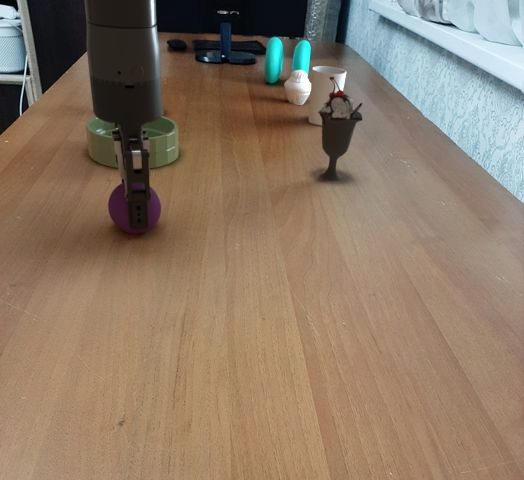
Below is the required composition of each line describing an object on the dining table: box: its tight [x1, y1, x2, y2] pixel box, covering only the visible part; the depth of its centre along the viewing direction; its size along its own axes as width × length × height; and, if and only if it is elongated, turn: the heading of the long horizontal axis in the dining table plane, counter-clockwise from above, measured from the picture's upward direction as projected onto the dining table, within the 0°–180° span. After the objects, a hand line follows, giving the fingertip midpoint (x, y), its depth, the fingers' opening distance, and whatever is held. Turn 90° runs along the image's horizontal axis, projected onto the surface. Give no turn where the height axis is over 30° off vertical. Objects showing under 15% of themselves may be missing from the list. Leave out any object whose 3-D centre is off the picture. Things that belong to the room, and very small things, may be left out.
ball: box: [107, 182, 162, 235], centre depth 70 cm, size 6×6×6 cm
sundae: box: [318, 77, 363, 182], centre depth 87 cm, size 7×7×15 cm
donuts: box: [264, 36, 312, 84], centre depth 137 cm, size 10×10×10 cm
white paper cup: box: [308, 65, 347, 127], centre depth 112 cm, size 7×7×10 cm
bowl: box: [85, 115, 180, 169], centre depth 92 cm, size 14×14×5 cm
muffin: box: [283, 69, 311, 106], centre depth 124 cm, size 6×6×7 cm
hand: (135, 215), depth 71 cm, fingers closed on ball, 6 cm apart
